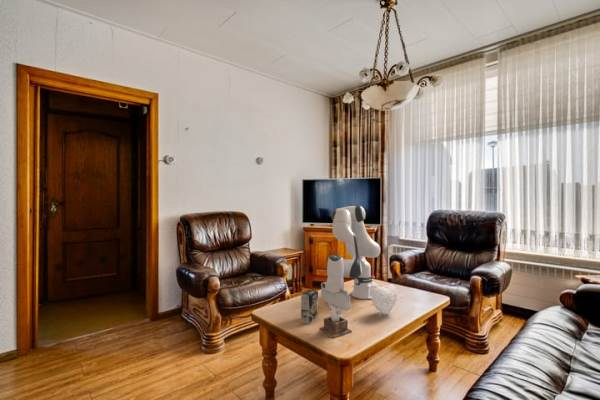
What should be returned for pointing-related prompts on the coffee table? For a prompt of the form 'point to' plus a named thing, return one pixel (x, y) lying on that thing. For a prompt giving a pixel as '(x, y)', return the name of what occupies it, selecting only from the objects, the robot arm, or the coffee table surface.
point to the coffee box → (309, 306)
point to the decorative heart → (384, 298)
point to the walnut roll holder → (335, 327)
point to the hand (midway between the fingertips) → (335, 312)
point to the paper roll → (334, 314)
